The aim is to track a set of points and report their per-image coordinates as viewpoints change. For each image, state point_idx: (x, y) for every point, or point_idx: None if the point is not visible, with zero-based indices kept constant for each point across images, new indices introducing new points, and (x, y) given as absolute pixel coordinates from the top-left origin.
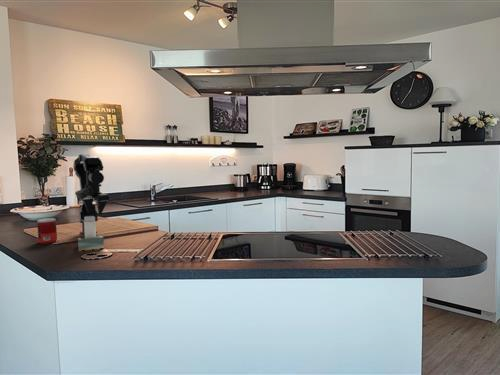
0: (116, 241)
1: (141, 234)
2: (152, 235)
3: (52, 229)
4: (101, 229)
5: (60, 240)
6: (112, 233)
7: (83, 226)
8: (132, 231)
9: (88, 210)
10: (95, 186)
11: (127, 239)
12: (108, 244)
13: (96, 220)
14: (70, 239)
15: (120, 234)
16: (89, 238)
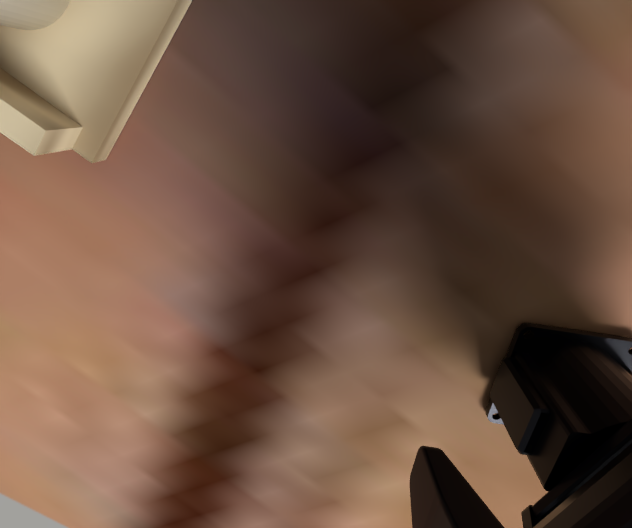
0: (61, 262)
1: (112, 483)
2: (23, 487)
3: None
4: None
5: (628, 23)
6: (337, 438)
7: (619, 384)
8: (250, 523)
9: (430, 502)
10: None
11: (52, 345)
12: (12, 150)
13: (527, 517)
14: (541, 118)
15: (249, 436)
16: None
